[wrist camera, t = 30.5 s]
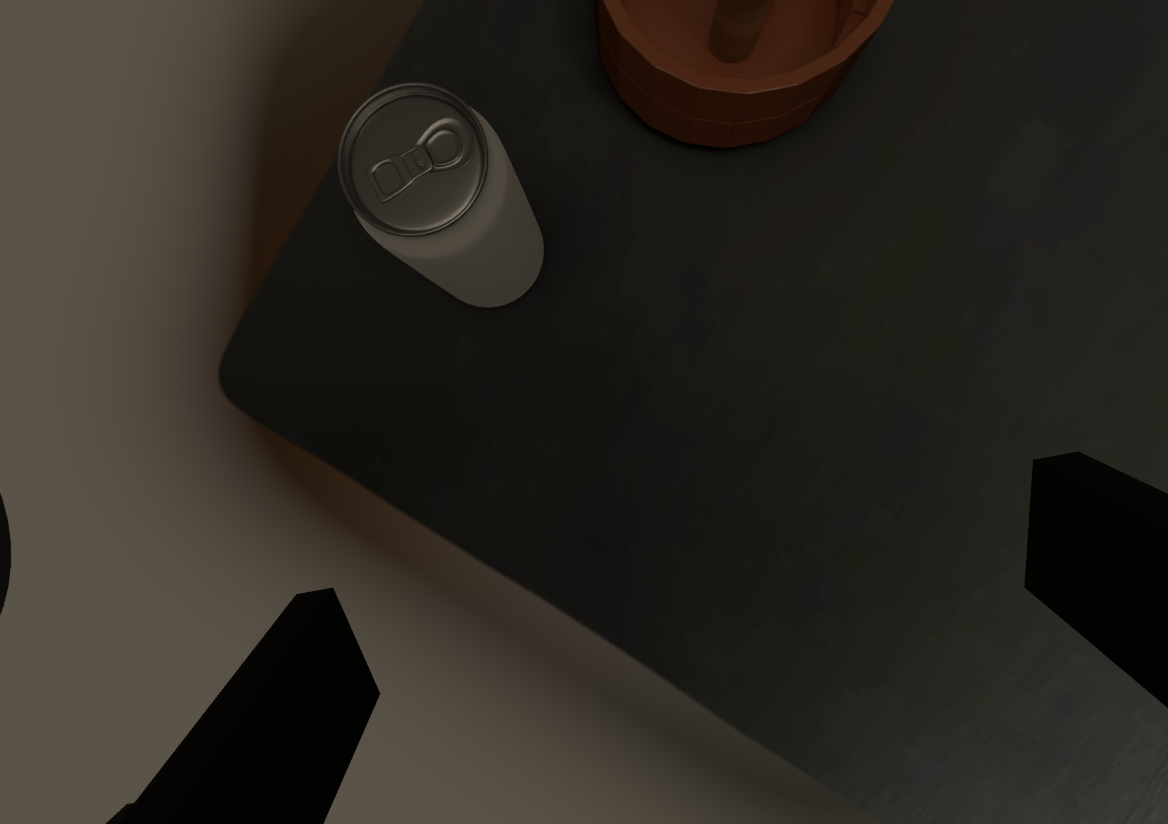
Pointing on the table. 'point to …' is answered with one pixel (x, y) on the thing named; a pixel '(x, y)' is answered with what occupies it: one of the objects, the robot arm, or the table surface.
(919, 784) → the table surface
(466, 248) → the can
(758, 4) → the stick
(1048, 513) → the robot arm
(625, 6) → the stir bowl
